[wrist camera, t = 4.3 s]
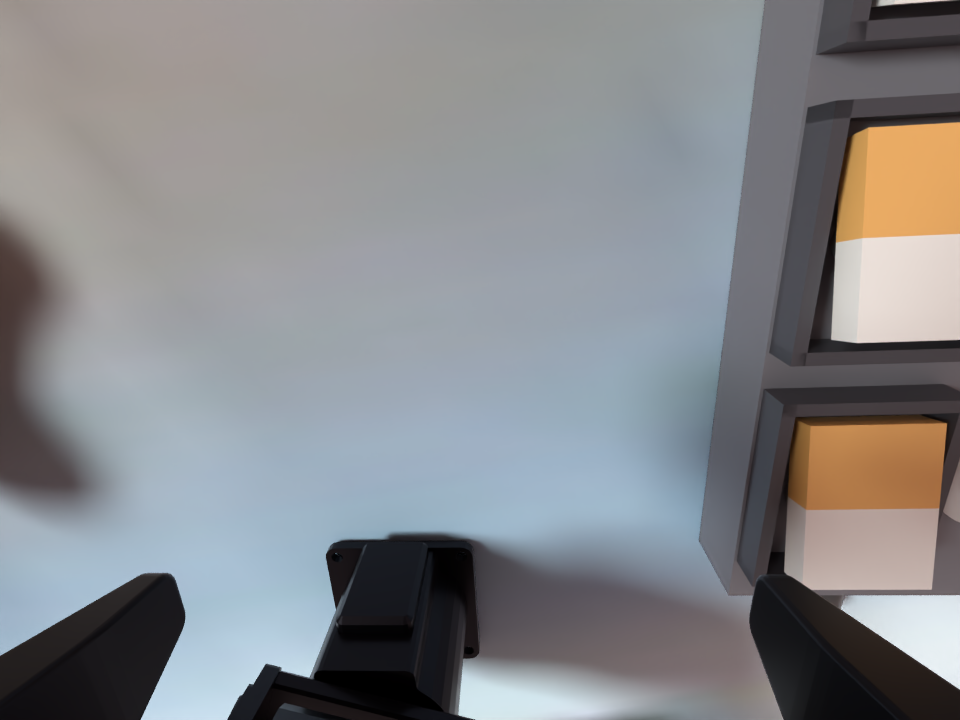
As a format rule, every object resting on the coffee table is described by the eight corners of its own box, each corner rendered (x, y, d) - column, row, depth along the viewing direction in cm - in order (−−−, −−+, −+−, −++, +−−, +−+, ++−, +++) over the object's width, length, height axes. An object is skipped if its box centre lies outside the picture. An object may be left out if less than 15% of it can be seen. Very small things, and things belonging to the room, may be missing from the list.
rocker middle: (964, 334, 14) (1016, 338, 12) (822, 338, 14) (856, 343, 13) (981, 136, 13) (1037, 117, 12) (831, 145, 13) (868, 127, 12)
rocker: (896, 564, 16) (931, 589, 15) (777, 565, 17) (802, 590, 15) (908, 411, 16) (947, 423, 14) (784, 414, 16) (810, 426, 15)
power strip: (925, 594, 22) (1018, 686, 18) (692, 594, 22) (732, 683, 18) (1232, -346, 12) (1594, -607, 8) (801, -299, 13) (937, -519, 9)
